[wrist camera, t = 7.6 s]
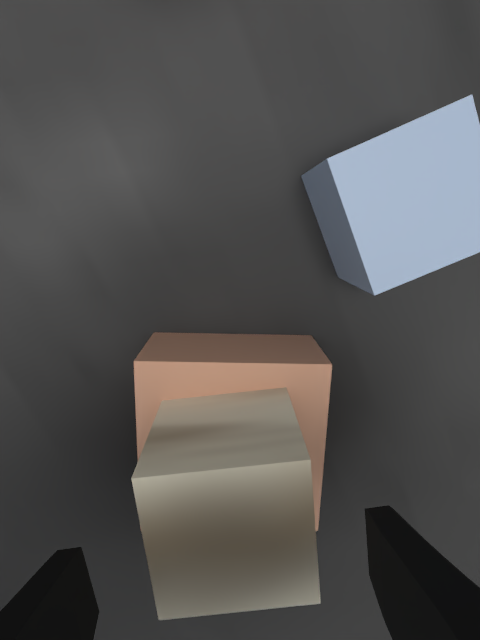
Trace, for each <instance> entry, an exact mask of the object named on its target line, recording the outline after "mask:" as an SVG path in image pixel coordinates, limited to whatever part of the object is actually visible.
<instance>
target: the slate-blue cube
mask: <svg viewBox="0 0 480 640" xmlns="http://www.w3.org/2000/svg"><path fill="white" fill-rule="evenodd" d="M301 177H302V180H303V183H304V186H305V188H306V191H307V194H308V197H309V199H310V202H311V205H312V207H313V210H314V213H315V216H316V218H317V221H318V224H319V227H320V229H321V232H322V235H323V238H324V240H325V243H326V246H327V249H328V251H329V254H330V257H331V260H332V262H333V265H334V268H335V270H336V273H337V276H338V278H340V279H342V280H344V281H346V282H348V283H350V284H352V285H354V286H356V287H358V288H360V289H362V290H364V291H366V292H368V293H370V294H372V295H374V296H375V295H377V294H380V293H382V292H384V291H387V290H389V289H392V288H394V287H396V286H399V285H401V284H404V283H406V282H409V281H411V280H413V279H416V278H418V277H421V276H423V275H425V274H428V273H430V272H433V271H435V270H438V269H440V268H442V267H445V266H447V265H450V264H452V263H454V262H457V261H459V260H462V259H464V258H467V257H469V256H471V255H474V254H476V253H479V252H480V124H479V120H478V116H477V112H476V108H475V104H474V100H473V96H472V95H470V96H468V97H465V98H463V99H461V100H459V101H456V102H454V103H452V104H450V105H447V106H445V107H443V108H440V109H438V110H436V111H434V112H431V113H429V114H427V115H425V116H422V117H420V118H418V119H416V120H413V121H411V122H409V123H407V124H404V125H402V126H400V127H398V128H395V129H393V130H391V131H389V132H386V133H384V134H382V135H380V136H377V137H375V138H373V139H371V140H368V141H366V142H364V143H361V144H359V145H357V146H355V147H352V148H350V149H348V150H346V151H343V152H341V153H339V154H337V155H334V156H332V157H330V158H328V159H326V160H324V161H323V162H321V163H320V164H318V165H317V166H315V167H314V168H312V169H311V170H309V171H308V172H306V173H305V174H303V175H302V176H301Z"/></svg>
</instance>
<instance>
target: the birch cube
mask: <svg viewBox="0 0 480 640" xmlns="http://www.w3.org/2000/svg"><path fill="white" fill-rule="evenodd" d="M131 480H132V485H133V490H134V495H135V500H136V506H137V511H138V516H139V521H140V526H141V531H142V536H143V542H144V547H145V552H146V557H147V562H148V567H149V572H150V578H151V583H152V588H153V593H154V598H155V603H156V608H157V614H158V619H159V620H167V619H177V618H186V617H196V616H205V615H215V614H225V613H234V612H244V611H253V610H263V609H273V608H282V607H292V606H301V605H311V604H320V603H321V600H320V586H319V571H318V557H317V543H316V529H315V514H314V500H313V486H312V472H311V459H310V456H309V453H308V450H307V447H306V444H305V441H304V438H303V435H302V432H301V429H300V427H299V424H298V421H297V418H296V415H295V412H294V409H293V406H292V403H291V400H290V397H289V394H288V391H287V388H286V387H284V388H275V389H265V390H256V391H246V392H237V393H228V394H218V395H209V396H200V397H190V398H181V399H172V400H163V401H161V404H160V406H159V409H158V412H157V414H156V417H155V419H154V422H153V424H152V427H151V429H150V432H149V435H148V437H147V440H146V442H145V445H144V447H143V450H142V452H141V455H140V458H139V460H138V463H137V465H136V468H135V470H134V473H133V475H132V478H131Z"/></svg>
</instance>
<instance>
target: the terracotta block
mask: <svg viewBox="0 0 480 640" xmlns="http://www.w3.org/2000/svg"><path fill="white" fill-rule="evenodd" d="M331 373H332V363H331V362H330V361H329V359H328V358H327V356H326V355H325V354H324V352H323V351H322V349H321V348H320V347H319V345H318V344H317V343H316V341H315V340H314V338H313V337H312V336H311V335H269V334H214V333H159V332H154V333H153V334H152V336H151V337H150V338H149V340H148V341H147V343H146V344H145V346H144V347H143V349H142V350H141V351H140V353H139V354H138V356H137V357H136V359H135V360H134V381H135V406H136V431H137V457H138V460H139V458H140V455H141V452H142V450H143V447H144V445H145V442H146V440H147V437H148V435H149V432H150V429H151V427H152V424H153V422H154V419H155V417H156V414H157V412H158V409H159V406H160V404H161V401H163V400H172V399H181V398H190V397H200V396H209V395H218V394H228V393H237V392H246V391H256V390H265V389H275V388H284V387H286V388H287V391H288V394H289V397H290V400H291V403H292V406H293V409H294V412H295V415H296V418H297V421H298V424H299V427H300V429H301V432H302V435H303V438H304V441H305V444H306V447H307V450H308V453H309V456H310V459H311V472H312V486H313V500H314V514H315V529H316V531H318V524H319V513H320V501H321V489H322V478H323V466H324V455H325V443H326V431H327V420H328V408H329V396H330V385H331ZM140 530H141V526H140Z"/></svg>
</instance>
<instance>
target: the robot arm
mask: <svg viewBox="0 0 480 640" xmlns="http://www.w3.org/2000/svg"><path fill="white" fill-rule="evenodd" d="M365 519H366V534H367V548H368V563H369V576H370V579H371V582H372V585H373V588H374V591H375V594H376V597H377V600H378V603H379V606H380V609H381V612H382V615H383V618H384V621H385V623H386V625H387V628H388V630H389V632H390V635H391V637H392V639H393V640H480V588H479V587H478V586H477V585H476V584H475V583H473V582H472V581H471V580H470V579H469V578H467V577H466V576H465V575H464V574H463V573H462V572H461V571H459V570H458V569H457V568H456V567H455V566H454V565H453V564H451V563H450V562H449V561H448V560H447V559H446V558H445V557H443V556H442V555H441V554H440V553H439V552H438V551H437V550H436V549H435V548H434V547H433V546H431V545H430V544H429V543H428V542H427V541H426V540H425V539H424V538H423V537H422V536H421V535H420V534H419V533H418V532H417V531H416V530H414V529H413V528H412V527H411V526H410V525H409V524H408V523H407V522H406V521H405V520H404V519H403V518H402V517H401V516H400V515H399V514H398V513H397V512H396V511H395V510H394V509H393V508H391V507H390V506H382V507H375V508H367V509H365ZM98 614H99V609H98V606H97V602H96V598H95V595H94V591H93V587H92V584H91V580H90V577H89V573H88V569H87V566H86V562H85V558H84V555H83V551H82V548H81V547H78V548H71V549H64V550H57V551H56V552H55V553H54V554H53V556H52V557H51V558H50V559H49V560H48V561H47V562H46V563H45V564H44V565H43V566H42V567H41V568H40V569H39V570H38V571H37V572H36V574H35V575H34V576H33V577H32V578H31V579H30V580H29V581H28V582H27V583H26V584H25V585H24V587H23V588H22V589H21V590H20V591H19V592H18V593H17V594H16V595H15V596H14V597H13V599H12V600H11V601H10V602H9V603H8V604H7V605H6V606H5V607H4V608H3V609H2V610H1V611H0V640H93V638H94V633H95V629H96V624H97V619H98Z"/></svg>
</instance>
